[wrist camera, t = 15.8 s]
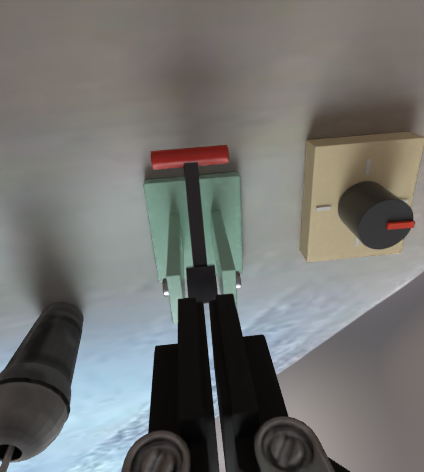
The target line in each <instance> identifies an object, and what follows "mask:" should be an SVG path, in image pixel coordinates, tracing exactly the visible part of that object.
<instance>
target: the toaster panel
mask: <svg viewBox="0 0 424 472" xmlns="http://www.w3.org/2000/svg"><path fill="white" fill-rule="evenodd" d="M423 147H424V137H423V136H420V135H418V134H415V133H412V132H398V133H386V134H374V135H362V136H350V137H338V138H326V139H314V140H307V141H306V158H305V174H304V191H303V208H302V225H301V241H300V251H301V253H302V255H303V256H304V258H305V260H306V261H307V262H315V261H325V260H335V259H346V258H356V257H366V256H376V255H387V254H397V253H401V251H402V246H403V242H404V239H403V240H401V241H400V242H399V243H398V244H396V245H394V246H392V247H390V248H386V249H380V250H377V249H371V248H368V247H366V246H365V245H363V244H362V242H361V241H360V240H359V239H358V238H357V237H356V236H355V235H354V234H353V233H352V232H351V231H350V229H349V228H348V227H347V226H346V225H345V224H344V223H343V222H342V221H341V219H340V217H339V215H338V204H339V201H340V199H341V197H342V195H343V194H344V193H345V192H346V191H347V190H348V189H349V188H350V187H351V186H353V185H355V184H357V183H360V182H364V181H372V182H376V183H378V184H380V185H381V186H383V187H384V188H386V189H387V190H388V191H390V192H391V193H393V194H394V195H396V196H397V197H398V198H400V199H401V200H403V201H404V202H406V203H407V204H408V205H409V206H410V208H411V204H412V199H413V194H414V190H415V185H416V180H417V175H418V171H419V166H420V161H421V156H422V152H423Z"/></svg>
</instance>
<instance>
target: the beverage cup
mask: <svg viewBox="0 0 424 472" xmlns="http://www.w3.org/2000/svg"><path fill="white" fill-rule="evenodd" d="M82 324H83V315H82V313H81V312H80V311H79V310H78V309H77V308H76V307H74V306H72V305H71V304H67V303H55V304H51V305H49V306H48V307H46V309H45V310H44V311H43V313H42V314H41V315H40V317H39V318H38V319H37V320H36V322H35V323H34V325H33V327H32V328H31V330H30V331H29V333H28V334H27V336H26V337H25V339H24V340H23V342H22V343H21V345H20V346H19V348H18V349H17V351H16V352H15V354H14V355H13V357H12V358H11V360H10V361H9V363H8V364H7V366H6V367H5V369H4V370H3V371H2V372H1V373H0V461H2V464H1V467H0V472H6V471H7V468H8V465H9V463H10V462H20V461H24V460H27V459H30V458H32V457H34V456H36V455H38V454H39V453H41V452H42V451H44V450H45V449H46V448H47V447H48V446H49V445H50V444H51V443H52V442H53V441H54V440H55V439H56V437H57V436H58V435H59V433H60V431H61V430H62V428H63V425H64V423H65V422H66V420H67V419H68V416H69V413H70V400H71V383H72V378H73V373H74V368H75V363H76V358H77V354H78V349H79V344H80V339H81V334H82V326H83V325H82Z"/></svg>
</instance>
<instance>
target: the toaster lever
mask: <svg viewBox="0 0 424 472" xmlns="http://www.w3.org/2000/svg"><path fill="white" fill-rule="evenodd" d="M151 162H152V168H153V169H154V170H156V169H168V168H180V167H184V174H185V184H186V195H187V206H188V217H189V227H190V238H191V249H192V259H193V266H187V267H186V275H187V286H188V297H189V298H191V297H196V302H200V301H203V304H205V303H209V301H210V300H215V295H218V293H217V283H216V272H215V265H214V264H207V256H206V246H205V235H204V225H203V214H202V203H201V193H200V182H199V171H198V166H203V165H215V164H227V163H228V162H229V153H228V147H227V145H219V146H207V147H195V148H183V149H171V150H159V151H151Z"/></svg>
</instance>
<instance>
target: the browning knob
mask: <svg viewBox="0 0 424 472" xmlns="http://www.w3.org/2000/svg"><path fill="white" fill-rule="evenodd" d="M338 215H339V217H340V219H341V221H342V222H343V223H344V224H345V225H346V226H347V227H348V228H349V229H350V231H351V232H352V233H353V234H354V235H355V236H356V237H357V238H358V239H359V240H360V241H361V242H362V244H363V245H365V246H366V247H368V248H371V249H377V250H380V249H386V248H390V247H392V246H394V245H396V244H398V243H399V242H400V241H401V240H403V239H404V238H405V237H406V235H407V234H408V233H409V231H410V229H411V228H414V224H415V221H413V212H412V210H411V208H410V206H409V205H408V204H407V203H406V202H404V201H403V200H401V199H400V198H398V197H397V196H396V195H394V194H393V193H391V192H390V191H388V190H387V189H386V188H384V187H383V186H381V185H380V184H378V183H376V182H372V181H364V182H360V183H357V184H355V185H353V186H351V187H350V188H349V189H348V190H347V191H346V192H345V193H344V194H343V195H342V197H341V199H340V201H339V204H338Z"/></svg>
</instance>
